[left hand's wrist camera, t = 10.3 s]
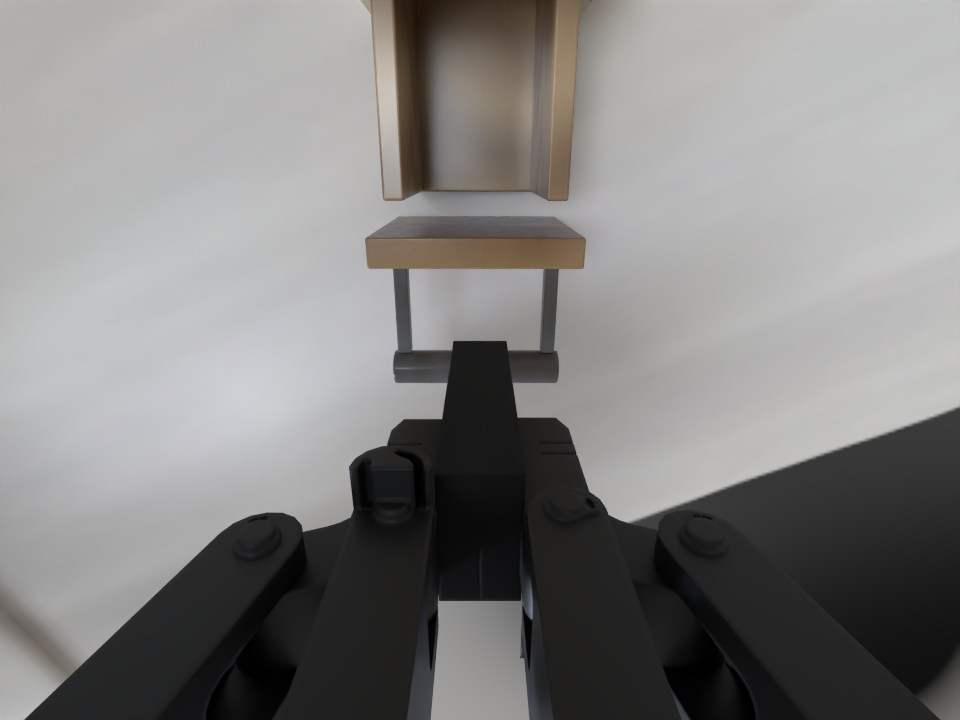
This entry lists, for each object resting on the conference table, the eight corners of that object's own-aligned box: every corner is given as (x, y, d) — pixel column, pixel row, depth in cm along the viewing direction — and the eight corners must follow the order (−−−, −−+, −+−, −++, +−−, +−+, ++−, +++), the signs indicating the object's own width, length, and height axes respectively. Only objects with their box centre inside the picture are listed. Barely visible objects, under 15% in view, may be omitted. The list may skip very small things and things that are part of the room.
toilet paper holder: (548, 341, 30) (573, 404, 22) (404, 340, 30) (377, 404, 22) (573, -124, 22) (625, -284, 14) (379, -124, 22) (323, -284, 14)
